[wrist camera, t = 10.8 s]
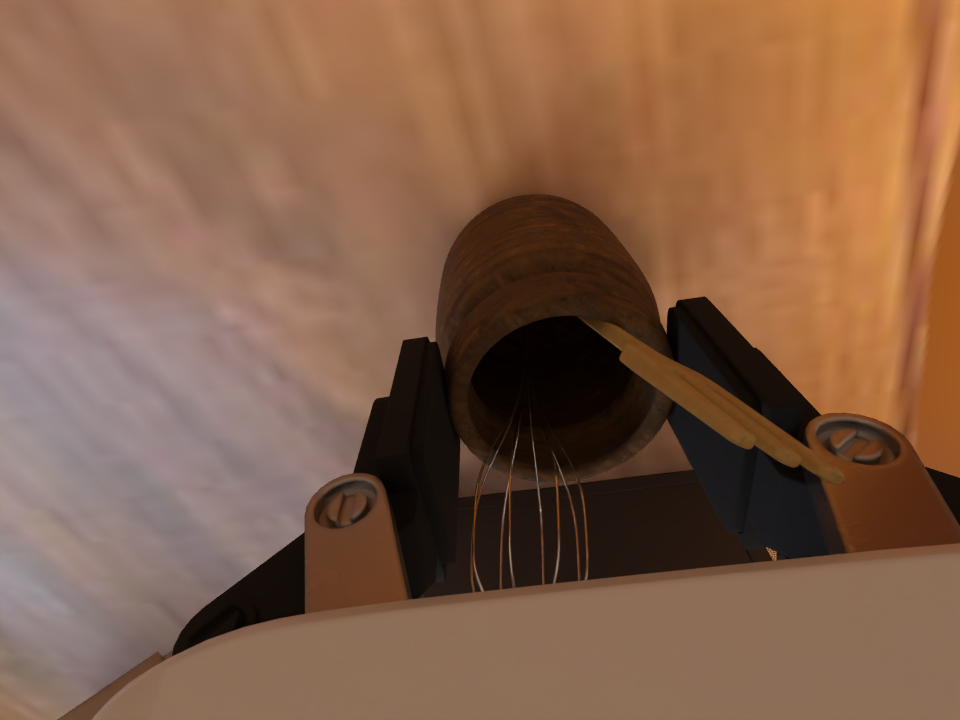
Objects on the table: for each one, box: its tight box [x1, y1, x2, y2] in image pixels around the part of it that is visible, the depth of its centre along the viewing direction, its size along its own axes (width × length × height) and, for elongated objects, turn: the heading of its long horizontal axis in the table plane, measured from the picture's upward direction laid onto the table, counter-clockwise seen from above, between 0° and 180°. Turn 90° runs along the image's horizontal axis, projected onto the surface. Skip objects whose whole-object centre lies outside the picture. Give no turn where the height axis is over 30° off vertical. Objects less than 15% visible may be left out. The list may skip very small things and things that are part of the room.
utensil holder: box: [436, 195, 845, 593], centre depth 12 cm, size 6×6×12 cm
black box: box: [423, 470, 773, 598], centre depth 23 cm, size 15×14×7 cm
